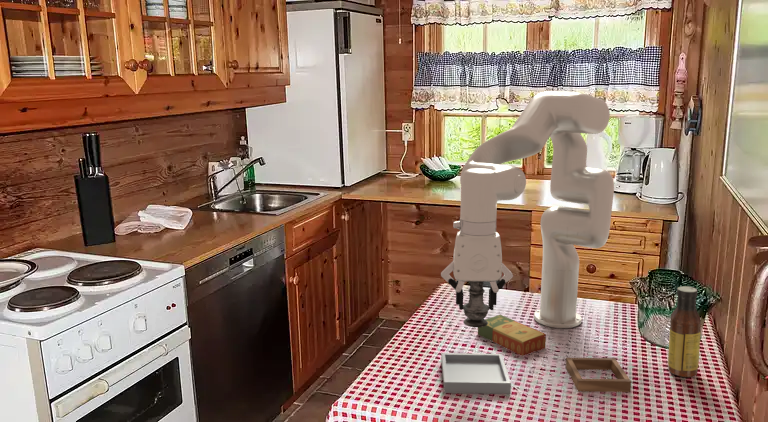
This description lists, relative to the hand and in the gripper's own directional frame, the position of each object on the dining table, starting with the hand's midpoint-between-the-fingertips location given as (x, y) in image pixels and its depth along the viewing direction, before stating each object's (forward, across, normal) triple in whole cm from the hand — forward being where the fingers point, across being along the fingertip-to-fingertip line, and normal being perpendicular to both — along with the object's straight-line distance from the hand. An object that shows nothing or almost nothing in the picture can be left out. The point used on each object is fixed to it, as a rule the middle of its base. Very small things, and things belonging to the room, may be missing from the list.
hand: (475, 307), depth 136 cm
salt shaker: (+4, 0, 0) cm, 4 cm away
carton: (+17, +11, +20) cm, 29 cm away
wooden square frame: (+17, +27, 0) cm, 32 cm away
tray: (+17, 0, 0) cm, 17 cm away
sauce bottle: (+17, +47, +4) cm, 50 cm away
